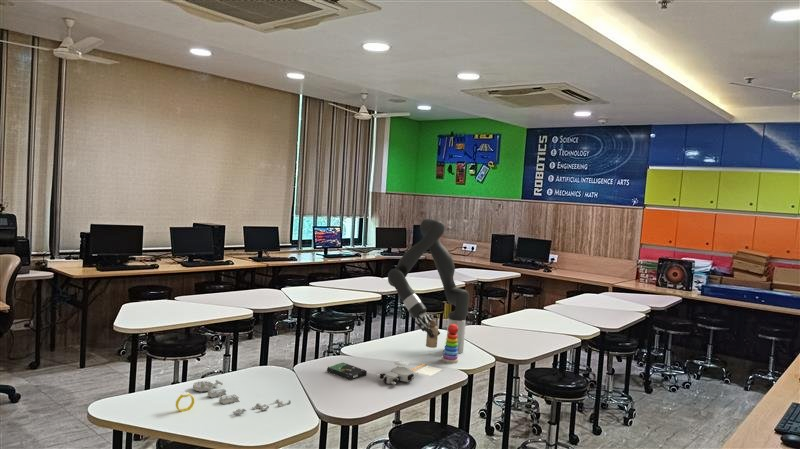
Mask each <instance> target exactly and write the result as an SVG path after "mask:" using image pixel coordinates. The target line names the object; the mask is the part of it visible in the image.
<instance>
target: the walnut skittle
mask: <svg viewBox="0 0 800 449" xmlns="http://www.w3.org/2000/svg"><path fill="white" fill-rule="evenodd" d="M436 323H437V320H436V319H435V320H431V324H430V326H429V327H430V329H431V330H432V332H433V333H434V335H435V336H434V337H433V338H430V336H429V335H428V333H427V332H426V342H425V347H427V348H432V349H433V348H434V349H435V348H437V347H438V336H439V335H438V331H439V326H437V325H436Z"/></svg>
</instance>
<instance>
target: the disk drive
mask: <svg viewBox="0 0 800 449" xmlns="http://www.w3.org/2000/svg"><path fill="white" fill-rule="evenodd" d="M327 371H328V372H327ZM326 372H327V373H329V372H330V374H331V373H332V375H334V374H335V376H336V377H337V376H338V377H340V378H343V379H345V380H349V381H353V380H357V379H361V378H363V377H366V376H367V372H368V370H365V369H363V368H360V367H357V366H354V365H351V364H349V363H345V362H341V363H337V364H334V365H331V366H327V368H326Z"/></svg>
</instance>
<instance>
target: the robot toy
mask: <svg viewBox="0 0 800 449" xmlns="http://www.w3.org/2000/svg"><path fill="white" fill-rule="evenodd" d="M418 375H419V373H417V372H416V374H415V372H414V371H412V369H409V368H407V367H403V366H400V365H397V366H396V367H394V368H392V369H390V372H387V373H380V374H377V375H376V378H377V379H381V380H382V379H383V382H384V383H386V384H389V385H395V386H396V385H398V383H399V382H400V381H401V382H405V383H408V382H410V381H412V380H414V378H415V377H416V376H418Z"/></svg>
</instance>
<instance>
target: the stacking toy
mask: <svg viewBox="0 0 800 449" xmlns="http://www.w3.org/2000/svg"><path fill="white" fill-rule="evenodd" d="M447 327H448V326H447ZM448 331H449V333H448V334H447V333H446V339H445V345H444V350H443V353H442V357H441V361H442V362H444V363H448V364H457V363H458V362H459V359H458V358H459V355H458V354H459V353H458V351H457V350H458V347H457V345H458V343H457V339H456V338H457V337H458V336H457V334H456V333H457V332H458V326H457V325H455V324H451V325H449V327H448Z"/></svg>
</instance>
